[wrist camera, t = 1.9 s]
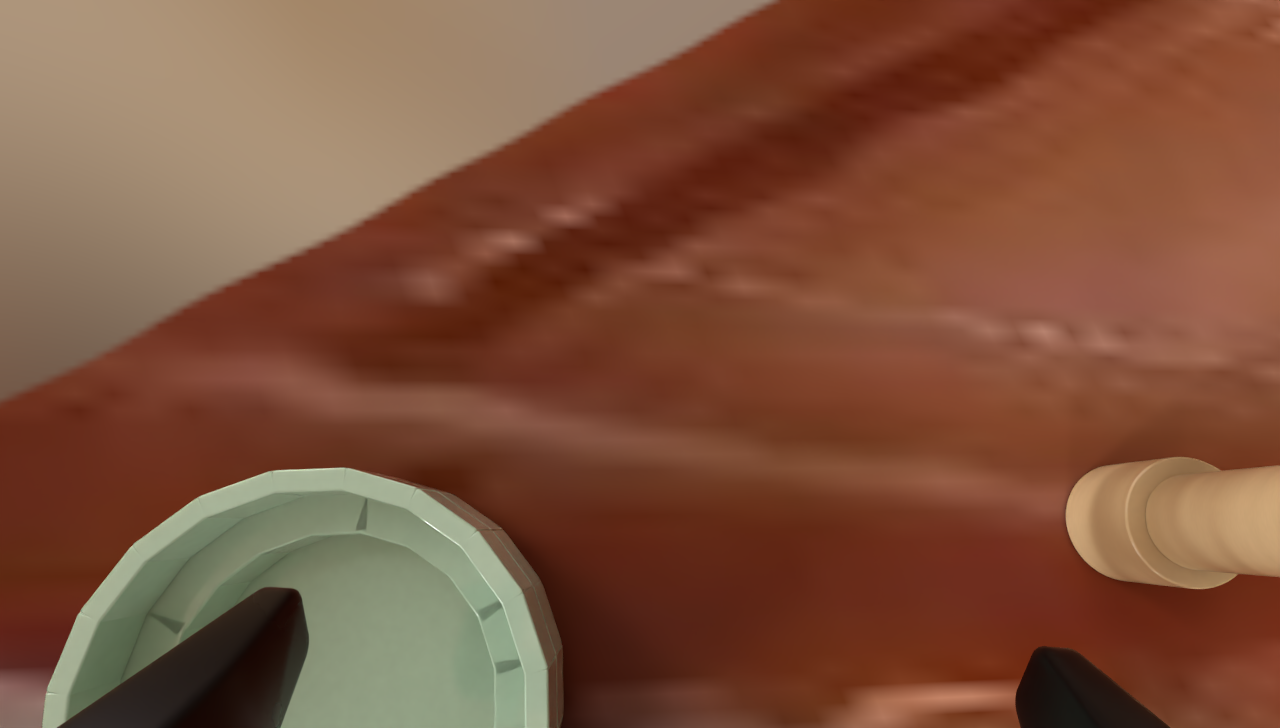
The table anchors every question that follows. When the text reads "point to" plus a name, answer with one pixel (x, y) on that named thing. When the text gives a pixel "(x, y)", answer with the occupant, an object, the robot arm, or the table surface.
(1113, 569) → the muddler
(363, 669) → the bowl
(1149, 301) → the table surface
